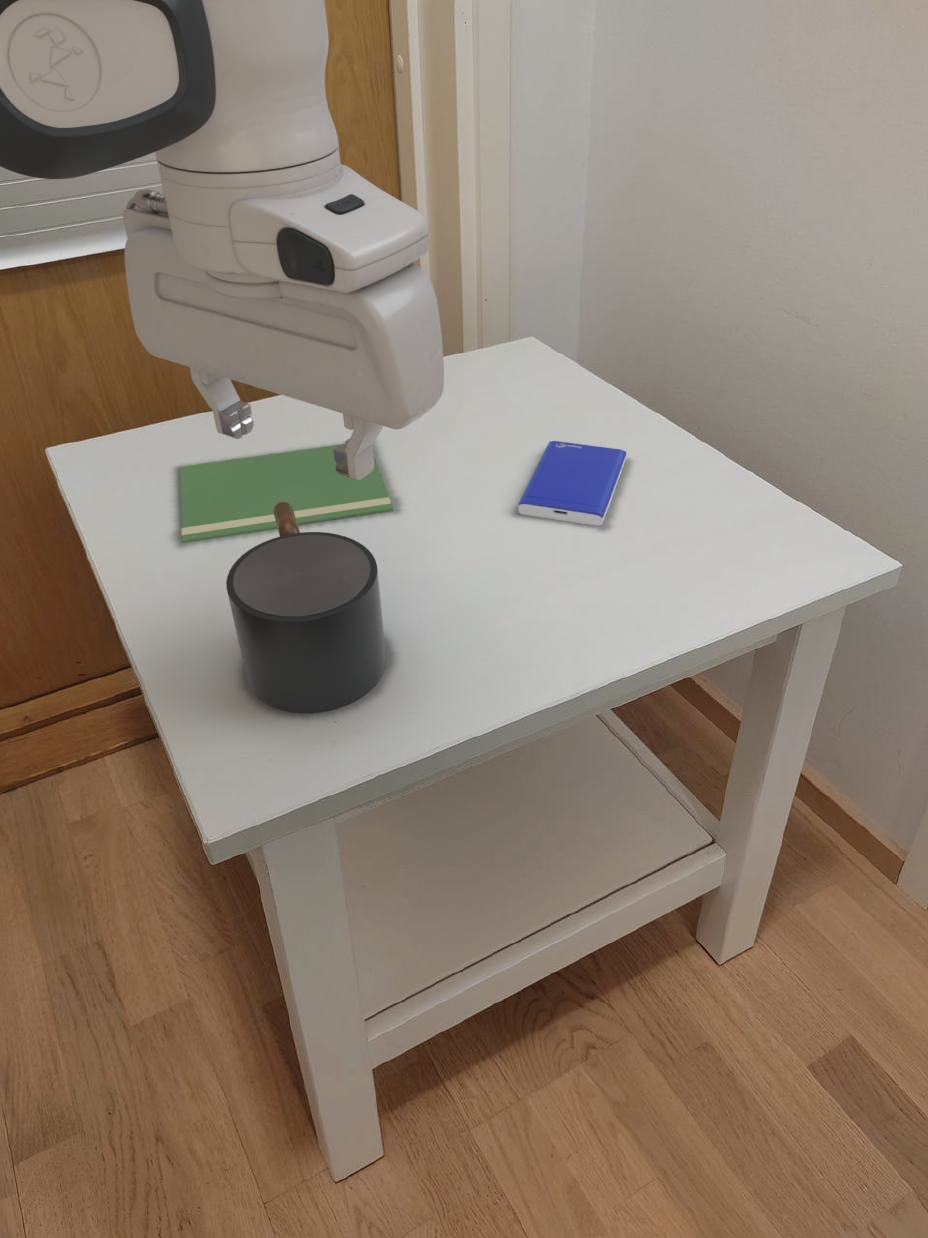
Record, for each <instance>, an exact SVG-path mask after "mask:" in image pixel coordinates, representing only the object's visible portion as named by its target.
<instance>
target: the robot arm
mask: <svg viewBox="0 0 928 1238" xmlns="http://www.w3.org/2000/svg"><path fill="white" fill-rule="evenodd" d="M329 39H330V38H329V29H328V20H327V9H326V1H325V0H0V168H3V169H5V170H6V171H10V172H13V173H16V174H19V175H22V176H23V175H24V176H25V177H30V178H36V179H43V180H67V179H75V178H78V177H79V178H80V177H84V176H87V175H91V174H94V173H98V172H101V171H105V170H107V169H110V168H114V167H117V166H119V165H122V164H126V163H128V162H131V161H134V160H137V159H141V158H142V157H146V156H149V155H151V154H153V153H154V154H155V159H156V162H157V163H156V164H157V167H158V172H159V173H158V174H159V177H160V182H161V187H162V192H163V194H162V193H160V192H159V191H156V190H153V189H140V190H137V191H136V192H135V194H134V196H132V197H131V198H130V199H129V200H128V202H127V204H126V207H125V209H123V211H122V212H123V213H122V219H123V224H124V230H125V233H126V241H125V245H124V269H125V278H126V286H127V294H128V300H129V305H130V312H131V316H132V322H133V327H134V330H135V334H136V337H137V338H138V340H139V342H140V343H141V345H142V346H143V347H144V349H145V350H146V351H147V353H148V354H149V355H151V356H153V357H156V358H159V359H163V360H166V361H169V362H173V363H176V364H179V365H182V366H185V367H189V372H190V376H191V381H192V383H193V384H194V386H195V387H196V388H197V390H198V392H199V393H200V395H201V396H202V398H203V399H204V401H205V402H206V404H207V405H208V407H209V408H210V410H212V414H213V419H214V424H215V429H216V432H217V433H218V434H221V435H222V436H223V435H224V436H226V437H229V438H232V439H235V440H240V439H241V438H243V437H244V436H245V435H249V434H250V433H252V431H253V429H254V425H255V424H254V420H253V418H252V414H253V412H252V407H251V403H248V402H245V401H242V400H241V398H240V396H239V394H238V392H237V390H236V388H235V386H234V384H233V382H232V381H235V382H239V383H241V384H244V385H248V386H250V387H251V386H252V387H255V388H258V389H261V390H264V391H268V392H271V393H273V394H278V395H279V396H280V395H281V396H284V397H287V398H290V399H294V400H297V401H299V402H304V403H306V404H310V405H313V406H317V407H320V408H324V409H327V410H330V411H333V412H336V413H340V414H342V418H343V426H344V428H345V429H347V430H350V431H352V433H351V434H350V435H351V436H350V438H348V439H347V440H345V442H344V443H342V444H338V445H339V446H338V447H336V448H335V449H333V450H334V459H335V461H336V463H337V465H336V466H335V467H336V472H337V473H339V474H341V475H344V476H347V477H349V478H352V479H355V480H361V479H363V478H364V477H366V476H367V475H368V474H370V473H371V472H372V470H373V468H374V458H375V456H374V444H375V443H376V440H377V439H378V438H379V435H380V433H381V432H382V430H383V428H384V427H385V428H388V429H392V430H402V429H405V428H407V427H408V426H410V425H412V424H413V423H415V421H417V420H419V419H421V418H422V417H423V416H424V415H426V414H427V413H428V412H430V411H431V410H432V409H433V408H434V407H435V405H436V404H437V403H438V402H439V400H441V398H442V395H443V393H444V386H445V366H444V365H445V363H444V362H445V361H444V360H445V359H444V348H443V346H444V345H443V335H442V334H443V333H442V325H441V318H440V310H439V305H438V304H439V303H438V299H437V295H436V292H435V289H434V287H433V284H432V282H431V280H430V278H429V276H428V275H427V273H425V271H424V270H423V269H422V268H421V266H419V265H417V263H415V262H416V261H418V260H419V259H420V258H422V257H423V256H425V255H426V254H427V253H428V251H429V248H430V229H429V227H430V226H429V224H428V220H427V219H426V218H425V216H424V215H423V214H422V213H421V212H420V211H418V210H417V209H415V208H414V207H412V206H410V205H408V204H407V203H405V202H403V201H401V200H400V199H398V198H397V197H394V196H392V195H391V194H389V193H388V192H386V191H384V190H383V189H381V188H379V187H378V186H376V185H375V184H373V183H372V182H370V181H369V180H367V179H366V178H364V176H362V175H360V174H359V173H358V172H356V171H355V170H354V169H352V168H351V167H349V166H348V165H345V164H342V163H341V156H340V146H339V144H340V143H339V137H338V133H337V129H336V126H335V123H334V121H333V118H332V115H331V112H330V109H329V106H328V101H327V100H328V99H327V95H326V68H327V60H328V55H329V46H330V41H329Z"/></svg>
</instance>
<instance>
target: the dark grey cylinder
mask: <svg viewBox="0 0 928 1238" xmlns="http://www.w3.org/2000/svg"><path fill="white" fill-rule="evenodd" d="M273 511H274V516H275V520H276V524H277V528H278V529H277V531H278V534H279V536H277V537H274V538H273V537H272V538H270V539H268V540H266V541H263V542H261V543H259V544H257V545H254V546H253V547H251V548H250V549H248V550H247V551H245V552H244V553H243V554H242V555H241V556H240V557H238V558H237V559H236V561H235V562H234V563H233V564H232V566H231V568H230V569H229V570H228V574H227V575H226V582H225V585H226V593H227V597H228V602H229V606H230V609H231V614H232V619H233V623H234V627H235V632H236V637H237V642H238V645H239V651H240V655H241V659H242V664H243V668H244V673H245V676H246V677H245V678H246V680H247V685H248V686H249V688H250V691H251V692H252V693H253V694H254V695H255V696H256V698H257V699H259V700H260V701H261V702H262V703H264V704H266V705H267V706H269V707H272V708H274V709H276V710H279V711H283V712H288V713H293V714H319V713H326V712H330V711H331V712H332V711H335V710H339V709H341V708H344V707H346V706H349V705H351V704H354V703H355V702H357V701H359V700H361V699H362V698H364V697H366V695H367V694H369V693H370V692H371V691H372V690H373V689H374V688H375V687H376V686H377V684H378V683H379V682H380V681H381V679H382V677H383V675H384V673H385V669H386V664H387V655H386V654H387V653H386V643H385V633H384V624H383V623H384V621H383V613H382V612H383V611H382V601H381V593H380V591H381V590H380V581H379V570H378V564H377V561H376V558H375V556H374V555H373V553H372V552H371V551H370V550H369V549H368V548H367V547H366V546H365V545H364V544H362V543H360V542H359V541H358V540H355V539H353V538H351V537H348V536H345V535H341V534H337V533H332V532H324V531H323V532H322V531H305V532H304V531H303V532H301V531H300V528H299V525H298V524H297V521H296V518H295V514H294V511H293V508H292V506H291V505H290V504H289V503H287V502H279V503H277V504H276V505H275V507H274V510H273Z"/></svg>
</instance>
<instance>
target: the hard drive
mask: <svg viewBox="0 0 928 1238" xmlns="http://www.w3.org/2000/svg"><path fill="white" fill-rule="evenodd" d="M626 461H627V451H626V450H624V449H620V448H612V447H605V446H599V445H591V444H590V445H589V444H582V443H576V442H575V443H574V442H567V441H559V440H551V441H549V442H548V444H547V446H546V448H545V450H544V452H543V454H542V455H541V458H540V460H539V462H538V464H537V466H536V468H535V469H534V471H533V473H532V476H531V478H530V480H529V482H528V484H527V486H526V488H525V490H524V492H523V494H522V495H521V498H520V500H519V502H518V514H520V515H523V516H530V517H536V518H544V519H549V520H555V521H563V522H569V523H576V524H582V525H589V526H595V527H601V526H603V525H604V522H605V519H606V516H607V514H608V511H609V508H610V505H611V503H612V501H613V497H614V494H615V492H616V489H617V486H618V483H619V480H620V477H621V475H622V472H623V469H624V467H625V464H626Z"/></svg>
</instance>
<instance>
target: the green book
mask: <svg viewBox="0 0 928 1238" xmlns="http://www.w3.org/2000/svg"><path fill="white" fill-rule="evenodd" d="M339 445H340V444H335V445H328V446H321V447H313V448H307V449H300V450H292V451H286V452H278V453H271V454H263V455H256V456H247V457H242V458H234V459H227V460H221V461H213V462H205V463H199V464H191V465H185V466H184V465H183V466H179V469H178V470H179V495H180V496H179V498H180V522H181V527H180V528H181V542H182V544H186V543H192V542H199V541H205V540H211V539H219V538H224V537H225V538H226V537H231V536H238V535H245V534H250V533H251V534H252V533H257V532H265V531H269V530H270V531H271V530H278V528H277V524H276V520H275V516H274V511H273V510H274V507H275V505H276V504H277V503H279V502H287V503H289V504H290V505H291V506H292V508H293V511H294V514H295V518H296V521H297V524H298V526H304V525H309V524H310V525H311V524H316V523H324V522H330V521H335V520H342V519H350V518H355V517H362V516H370V515H375V514H381V513H382V514H383V513H390V512H393V511H394V507H393V505H392V502H391V499H390V497H389V494H388V491H387V489H386V488H387V487H386V486H385V483H384V480H383V477H382V474H381V472H380V469H379V466H378V464H377V463H378V462H377V461H376V458H375V457H374V468H373V470H372V472H371V473H370V474H368V475H367V476H366V477H364V478H363V479H361V480H355V479H352V478H349V477H347V476H344V475H341V474H339V473H337V472H336V467H335V466H336V465H337V463H336V461H335V459H334V450H333V449H335V448H336V447H338V446H339Z"/></svg>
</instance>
